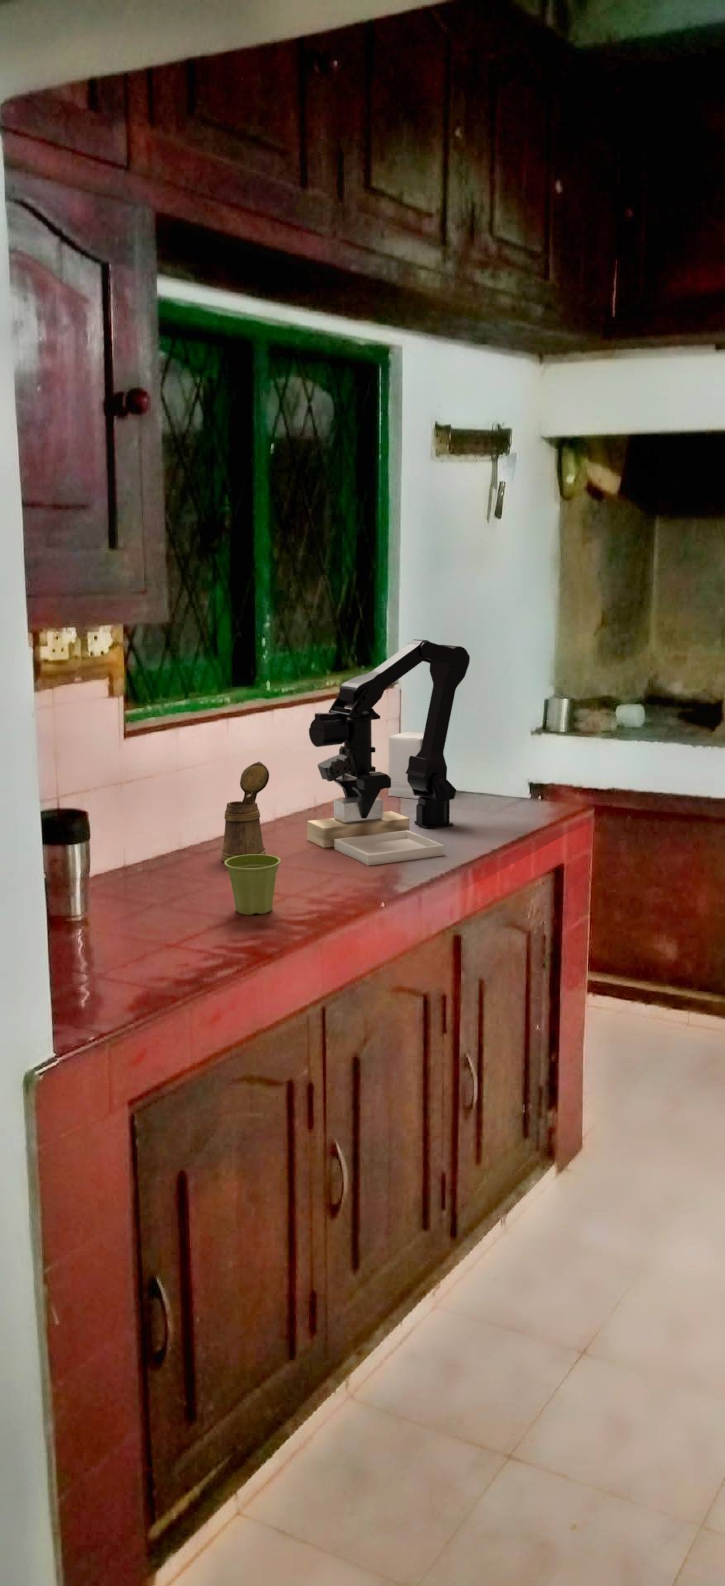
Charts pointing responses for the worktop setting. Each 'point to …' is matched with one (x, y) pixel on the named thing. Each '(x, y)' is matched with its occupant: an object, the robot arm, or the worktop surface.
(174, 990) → the worktop surface
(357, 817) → the light grey block
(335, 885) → the worktop surface
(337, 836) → the light wood plank
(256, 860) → the plant pot
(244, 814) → the wooden mug
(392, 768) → the supplement box
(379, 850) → the parts tray
